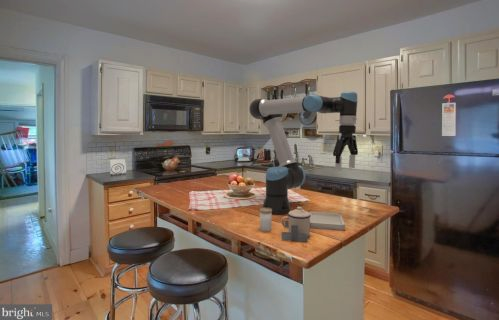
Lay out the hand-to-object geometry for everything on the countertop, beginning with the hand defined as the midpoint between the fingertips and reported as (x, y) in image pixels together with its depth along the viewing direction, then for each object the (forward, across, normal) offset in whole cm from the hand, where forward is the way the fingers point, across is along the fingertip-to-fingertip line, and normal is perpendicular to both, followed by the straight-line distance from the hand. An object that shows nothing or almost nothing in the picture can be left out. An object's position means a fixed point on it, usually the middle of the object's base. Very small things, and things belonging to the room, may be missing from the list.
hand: (345, 168), depth 136 cm
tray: (+24, -13, +1) cm, 28 cm away
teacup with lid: (+25, -36, +2) cm, 43 cm away
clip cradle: (+24, -36, +2) cm, 43 cm away
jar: (+25, -40, +15) cm, 49 cm away
